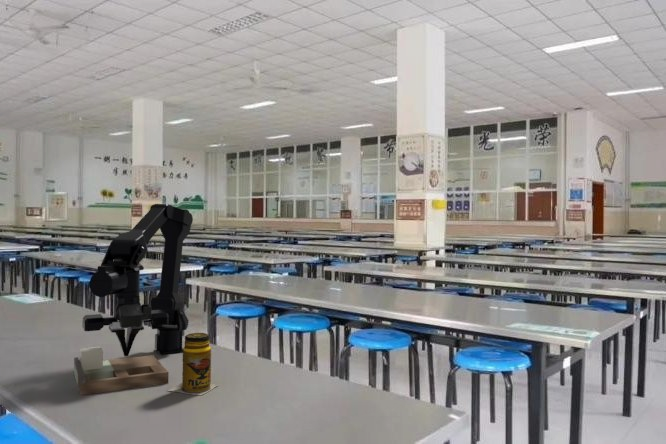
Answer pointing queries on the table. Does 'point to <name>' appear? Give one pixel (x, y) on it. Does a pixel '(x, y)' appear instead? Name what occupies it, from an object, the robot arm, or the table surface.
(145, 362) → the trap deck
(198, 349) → the condiment
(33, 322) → the table surface
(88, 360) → the block
